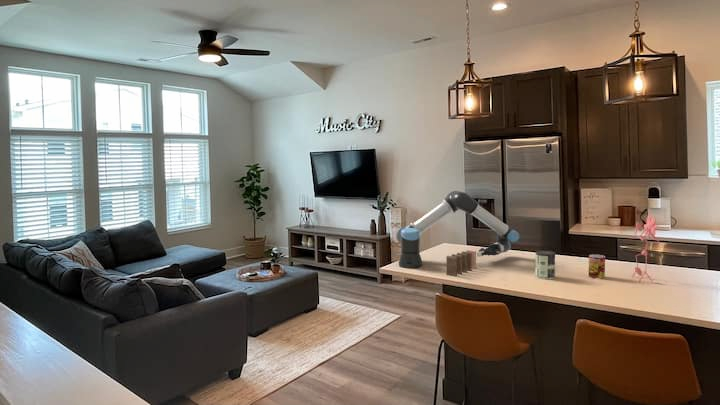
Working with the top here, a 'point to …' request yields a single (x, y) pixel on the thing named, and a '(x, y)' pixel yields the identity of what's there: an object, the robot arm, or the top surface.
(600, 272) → the canned food
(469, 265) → the domino
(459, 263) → the domino
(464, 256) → the domino
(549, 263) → the coffee can
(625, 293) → the top surface
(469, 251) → the domino
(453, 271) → the domino
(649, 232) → the figurine
